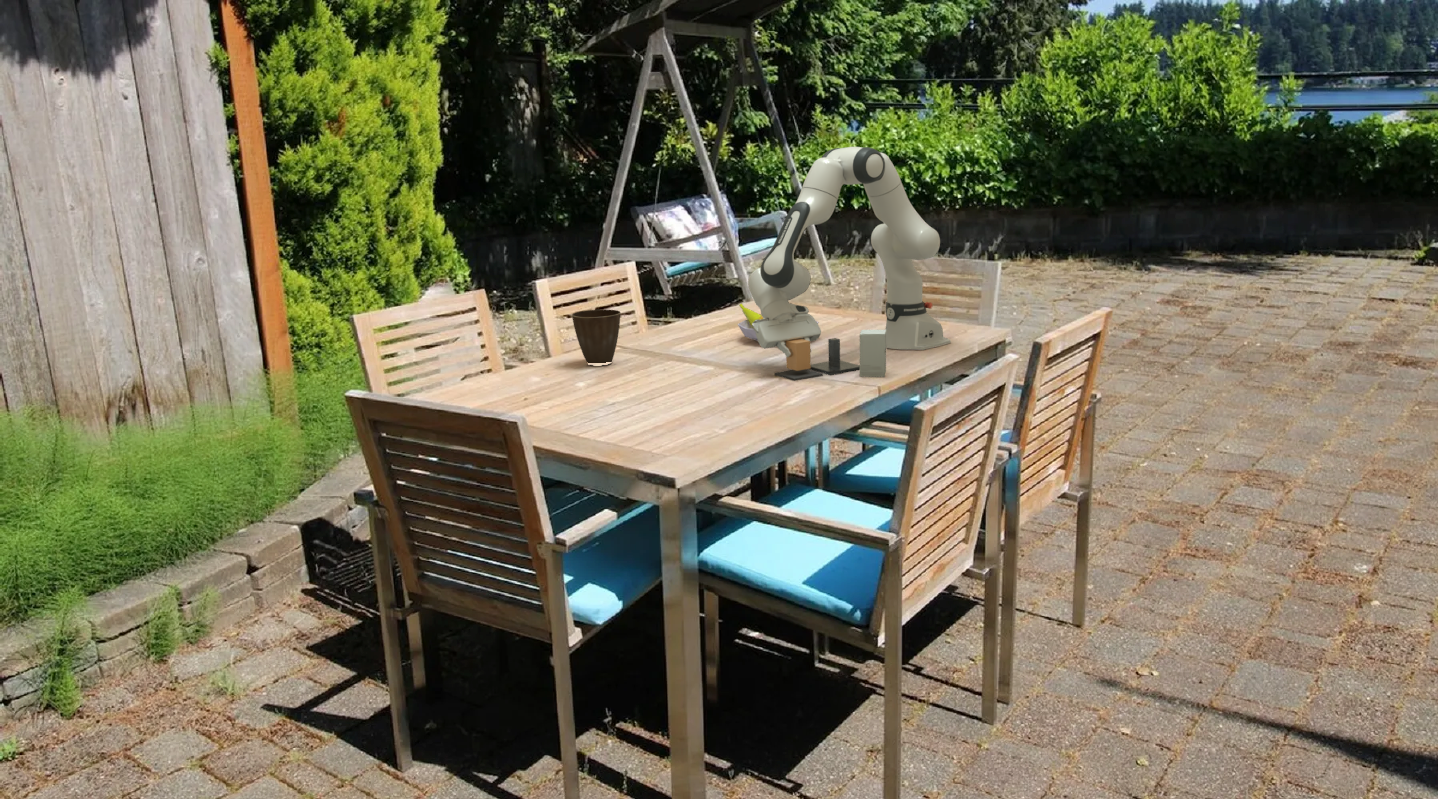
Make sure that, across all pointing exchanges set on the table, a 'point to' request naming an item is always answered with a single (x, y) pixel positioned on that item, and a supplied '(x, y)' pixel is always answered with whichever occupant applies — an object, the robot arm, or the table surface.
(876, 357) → the supplement box
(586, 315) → the plant pot
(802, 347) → the tan rectangular pillar
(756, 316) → the fruit bowl
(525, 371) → the table surface
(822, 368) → the post stand
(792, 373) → the mat
